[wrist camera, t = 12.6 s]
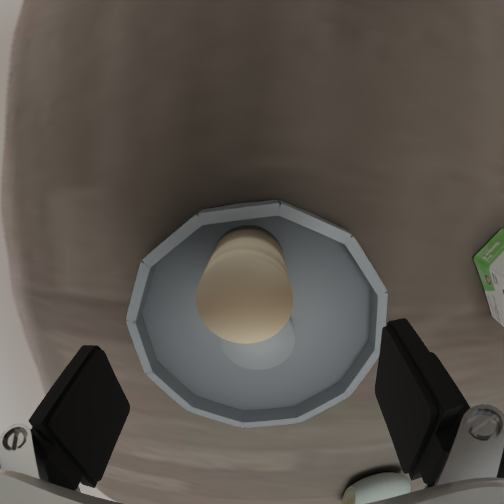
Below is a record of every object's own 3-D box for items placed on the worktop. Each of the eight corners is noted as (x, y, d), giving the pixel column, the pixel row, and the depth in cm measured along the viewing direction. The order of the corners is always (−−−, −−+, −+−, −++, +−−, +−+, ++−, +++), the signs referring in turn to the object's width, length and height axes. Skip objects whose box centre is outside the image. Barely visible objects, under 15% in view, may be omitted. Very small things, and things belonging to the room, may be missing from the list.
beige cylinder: (208, 229, 22) (187, 262, 15) (279, 220, 22) (288, 250, 15) (219, 294, 23) (206, 347, 17) (286, 286, 23) (296, 338, 16)
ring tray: (113, 222, 22) (100, 229, 20) (376, 188, 21) (387, 192, 19) (173, 413, 28) (168, 428, 26) (369, 394, 27) (374, 409, 25)
